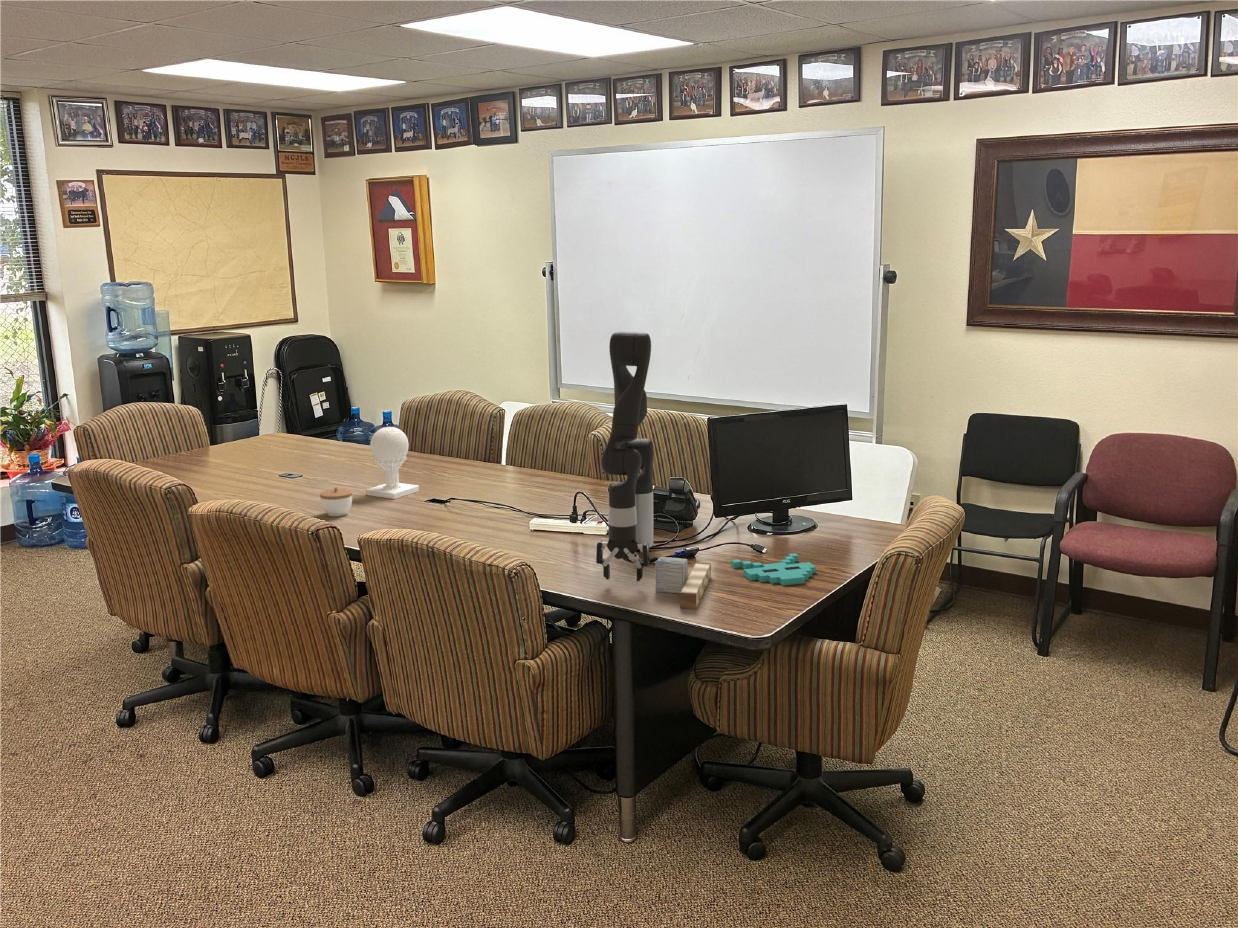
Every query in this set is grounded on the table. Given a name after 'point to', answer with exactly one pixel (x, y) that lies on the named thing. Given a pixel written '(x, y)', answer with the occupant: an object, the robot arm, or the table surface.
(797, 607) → the table surface
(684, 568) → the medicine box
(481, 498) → the table surface
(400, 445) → the trophy
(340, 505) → the lidded jar
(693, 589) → the maple rail
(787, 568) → the alien figure
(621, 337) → the robot arm
